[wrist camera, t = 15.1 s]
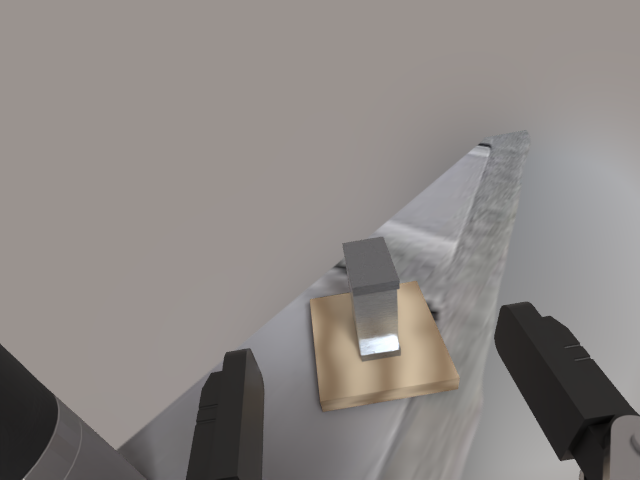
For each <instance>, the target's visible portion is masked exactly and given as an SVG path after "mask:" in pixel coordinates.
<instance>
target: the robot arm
mask: <svg viewBox="0 0 640 480" xmlns="http://www.w3.org/2000/svg"><path fill="white" fill-rule="evenodd" d="M494 339H495V345H496V348H497V351H498V353H499V355H500V357H501V359H502V361H503V362H504V364H505V366H506V368H507V369H508V371H509V373H510V375H511V376H512V378H513V380H514V382H515V383H516V385H517V387H518V389H519V390H520V392H521V394H522V396H523V397H524V399H525V401H526V402H527V404H528V406H529V408H530V409H531V411H532V413H533V415H534V416H535V418H536V420H537V422H538V423H539V425H540V427H541V428H542V430H543V432H544V434H545V436H546V437H547V439H548V441H549V442H550V444H551V446H552V448H553V449H554V451H555V453H556V455H557V456H558V458H559V460H560V461H563V460H570V459H575V460H576V462H577V463H578V465H579V467H580V469H581V470H580V475H579V480H640V415H639V414H638V413H637V412H635V410H634V409H633V408H632V407H631V406H630V405H629V403H628V402H627V401H626V400H625V399H624V397H623V396H622V395H621V394H620V392H619V391H618V390H617V389H616V387H615V386H614V385H613V384H612V382H611V381H610V380H609V379H608V378H607V376H606V375H605V374H604V373H603V371H602V370H601V369H600V368H599V366H598V365H597V364H596V363H595V361H594V360H593V359H591V358H590V355H589V354H588V353H587V351H586V350H585V349H584V348H583V347H582V346H580V343H579V342H578V340H577V339H576V338H575V337H574V335H573V334H572V333H571V332H570V330H569V329H568V328H567V327H566V326H564V325H563V324H561V323H560V322H558V321H557V320H555V319H554V318H553V317H551V316H546V317H541V315H540V314H539V313H538V311H537V310H536V309H535V307H534V306H533V305H532V304H531V303H529V302H521V303H515V304H510V305H503V306H502V307H501V309H500V313H499V317H498V321H497V326H496V330H495V335H494ZM263 420H264V383H263V378H262V374H261V372H260V369H259V367H258V365H257V362H256V360H255V358H254V355H253V353H252V351H251V349H250V348H248V349H242V350H237V351H231V352H226V354H225V357H224V362H223V370H222V371H220V372H214V373H211V374H210V376H209V378H208V379H207V381H206V383H205V385H204V387H203V388H202V392H201V397H200V403H199V411H198V414H197V420H196V422H197V424H196V426H195V431H194V437H193V442H192V448H191V454H190V459H189V465H188V471H187V476H186V480H262V454H263ZM0 480H147V479H146V478H145V477H144V476H143V475H142V474H141V473H139V472H138V471H137V470H136V469H135V468H134V467H133V466H132V465H131V464H130V463H129V462H128V461H127V460H126V459H125V458H123V457H122V456H121V455H120V454H119V453H118V452H117V451H116V450H115V449H114V448H112V447H111V446H110V445H109V444H108V443H107V442H106V441H105V440H104V439H103V438H101V437H100V436H99V435H98V434H97V433H96V432H95V431H94V430H93V429H92V428H90V427H89V426H88V425H87V424H86V423H85V422H84V421H83V420H82V419H81V418H80V417H78V416H77V415H76V414H75V413H74V412H73V411H72V410H70V409H69V408H68V407H67V406H66V405H65V404H64V403H63V402H62V401H61V400H59V399H58V398H57V397H56V396H55V395H54V394H53V393H52V392H51V391H49V390H48V389H47V388H46V387H45V386H44V385H43V384H42V383H40V382H39V381H38V380H37V379H36V378H35V377H34V376H33V375H32V374H31V373H30V372H29V371H28V370H27V369H26V368H25V367H24V366H23V365H22V364H21V363H20V362H19V361H18V360H17V359H16V358H15V357H14V356H13V355H11V354H10V353H9V352H8V351H7V350H6V349H5V348H4V347H3V346H2V345H1V344H0Z"/></svg>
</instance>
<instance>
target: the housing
mask: <svg viewBox="0 0 640 480" xmlns="http://www.w3.org/2000/svg"><path fill="white" fill-rule="evenodd" d="M343 250H344V255H345V262H346V269H347V276H348V283H349V290H350V298H351V305H352V315H353V320H354V325H355V330H356V335H357V339H358V344H359V349H360V354H361V359H362V362H364V361H370V360H376V359H383V358H389V357H395V356H401V348H400V345H399V340H398V302H397V289H400V285H399V278H398V275H397V272H396V270H395V267H394V265H393V262H392V259H391V257H390V254H389V251H388V249H387V246H386V243H385V241H384V238H383V237H377V238H371V239H366V240H360V241H354V242H348V243H343Z"/></svg>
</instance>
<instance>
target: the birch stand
mask: <svg viewBox="0 0 640 480" xmlns="http://www.w3.org/2000/svg"><path fill="white" fill-rule="evenodd" d="M399 285H400V289H397V302H398V340H399V345H400V348H401V356H395V357H389V358H383V359H376V360H370V361H364V362H362V359H361V354H360V349H359V344H358V339H357V335H356V330H355V325H354V320H353V315H352V305H351V298H350V293H344V294H338V295H332V296H327V297H321V298H315V299H310V305H311V315H312V325H313V335H314V345H315V355H316V365H317V375H318V385H319V396H320V403H321V407H322V410H323V412H325V411H331V410H337V409H343V408H349V407H355V406H361V405H367V404H372V403H378V402H384V401H390V400H396V399H402V398H408V397H414V396H420V395H425V394H431V393H437V392H443V391H449V390H455V389H458V385H459V379H460V378H459V375H458V373H457V371H456V369H455V366H454V364H453V362H452V360H451V357H450V355H449V353H448V351H447V348H446V346H445V344H444V342H443V339H442V337H441V335H440V333H439V330H438V328H437V326H436V324H435V321H434V319H433V317H432V315H431V312H430V310H429V308H428V306H427V303H426V301H425V299H424V297H423V294H422V292H421V290H420V288H419V285H418V283H417V281H413V282H407V283H401V284H399Z"/></svg>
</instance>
